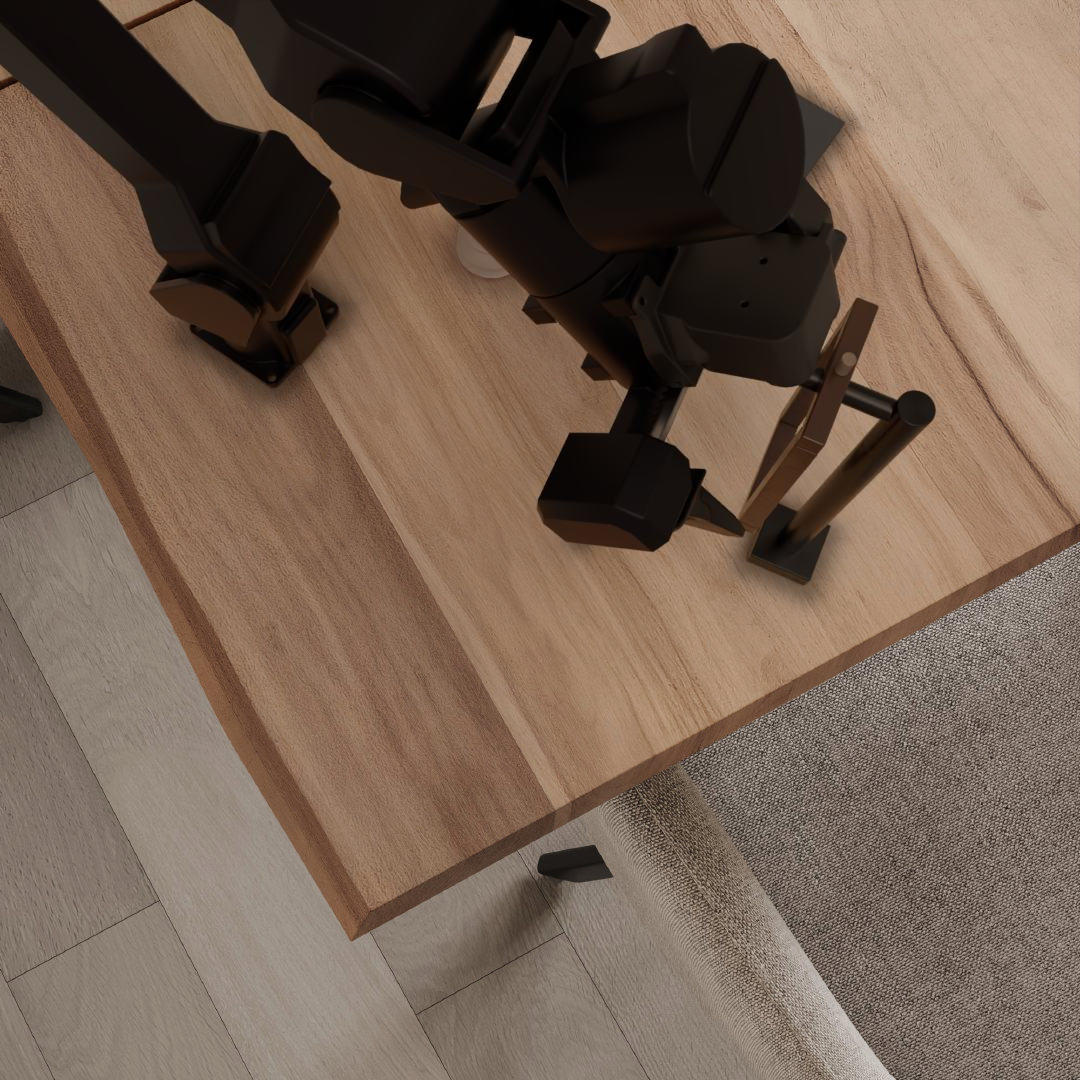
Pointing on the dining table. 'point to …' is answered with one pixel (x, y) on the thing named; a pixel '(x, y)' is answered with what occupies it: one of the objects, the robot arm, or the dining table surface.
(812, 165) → the felt mat
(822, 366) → the rectangular frame
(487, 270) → the rook chess piece
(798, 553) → the black hanging stand
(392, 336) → the dining table surface
